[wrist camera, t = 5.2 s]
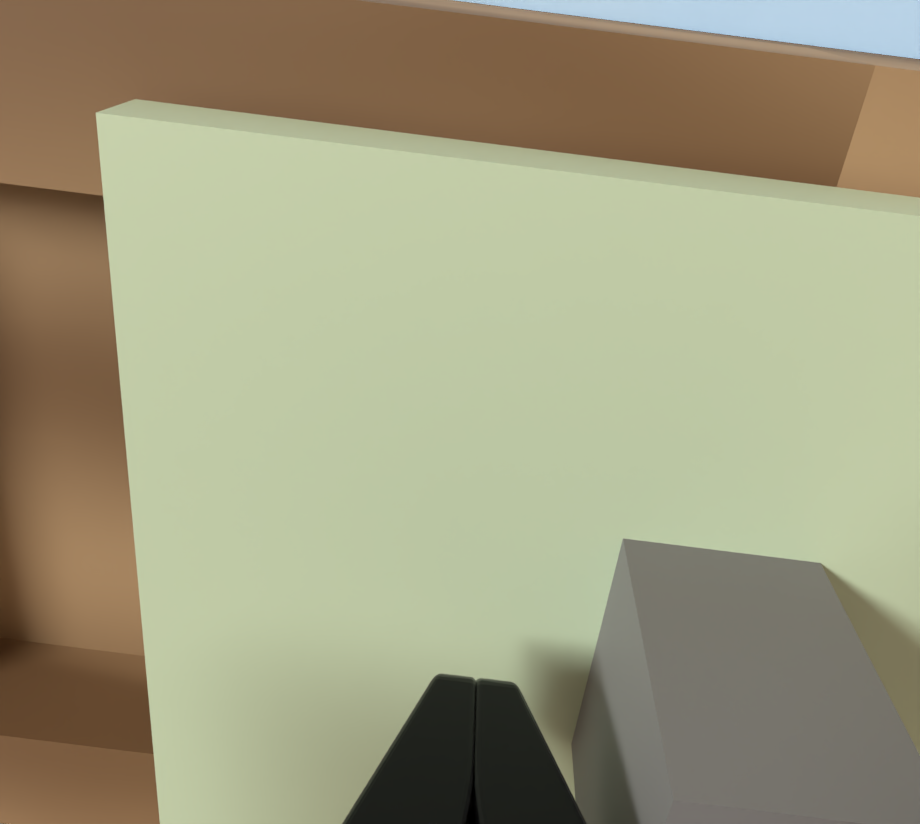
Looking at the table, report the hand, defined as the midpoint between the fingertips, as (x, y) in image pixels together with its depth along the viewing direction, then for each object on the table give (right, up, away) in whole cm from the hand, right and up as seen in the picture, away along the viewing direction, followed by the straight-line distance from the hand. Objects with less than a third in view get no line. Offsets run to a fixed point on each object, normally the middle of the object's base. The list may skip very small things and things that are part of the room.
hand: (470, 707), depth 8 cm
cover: (+2, +1, +2) cm, 3 cm away
